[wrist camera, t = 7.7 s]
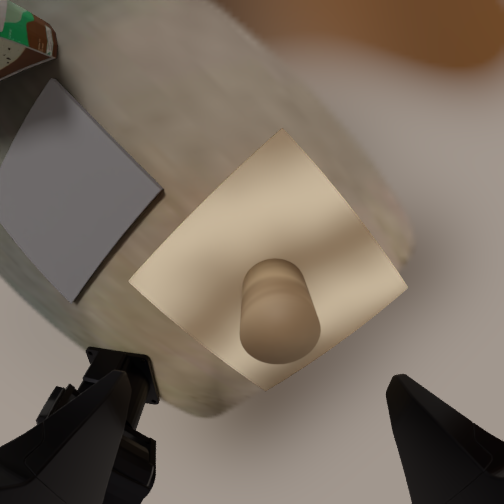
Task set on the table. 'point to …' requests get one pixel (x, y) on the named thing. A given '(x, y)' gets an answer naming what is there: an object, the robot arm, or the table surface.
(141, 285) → the lid
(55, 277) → the mat
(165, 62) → the table surface
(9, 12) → the food container
